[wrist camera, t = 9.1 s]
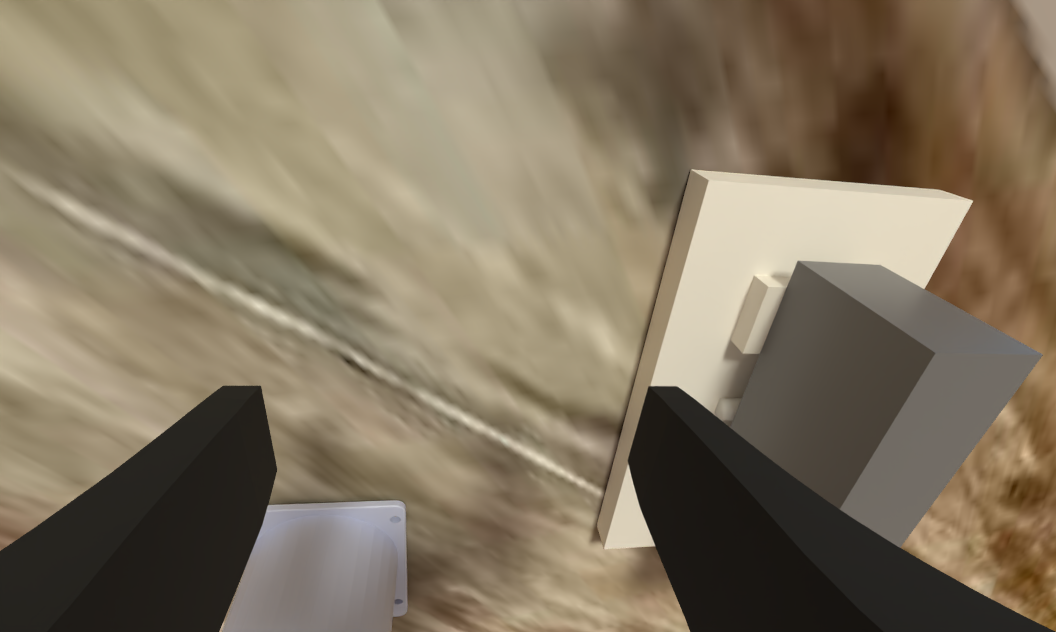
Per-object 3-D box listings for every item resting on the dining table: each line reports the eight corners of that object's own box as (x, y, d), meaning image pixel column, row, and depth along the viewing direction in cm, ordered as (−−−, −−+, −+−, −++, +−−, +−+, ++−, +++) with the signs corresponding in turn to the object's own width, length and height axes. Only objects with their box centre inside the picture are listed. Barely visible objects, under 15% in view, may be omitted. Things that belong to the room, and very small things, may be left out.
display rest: (771, 516, 30) (796, 554, 28) (596, 525, 28) (609, 566, 26) (940, 190, 20) (997, 209, 18) (690, 169, 18) (722, 188, 16)
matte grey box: (750, 527, 26) (823, 649, 21) (688, 530, 25) (748, 657, 20) (880, 265, 19) (1042, 354, 14) (797, 260, 18) (935, 353, 13)
